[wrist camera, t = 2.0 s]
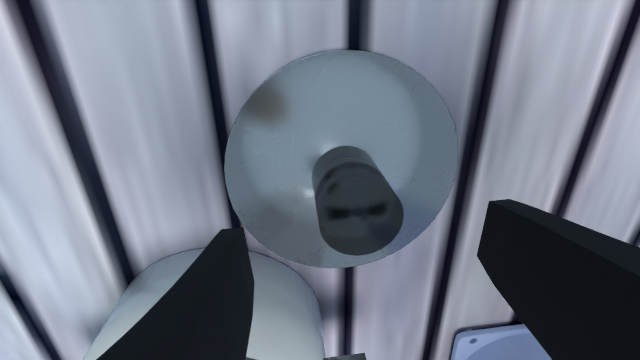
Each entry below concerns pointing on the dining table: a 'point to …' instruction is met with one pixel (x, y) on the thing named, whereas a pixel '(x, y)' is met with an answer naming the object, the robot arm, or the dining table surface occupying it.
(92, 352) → the pot
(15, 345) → the dining table surface
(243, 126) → the lid
